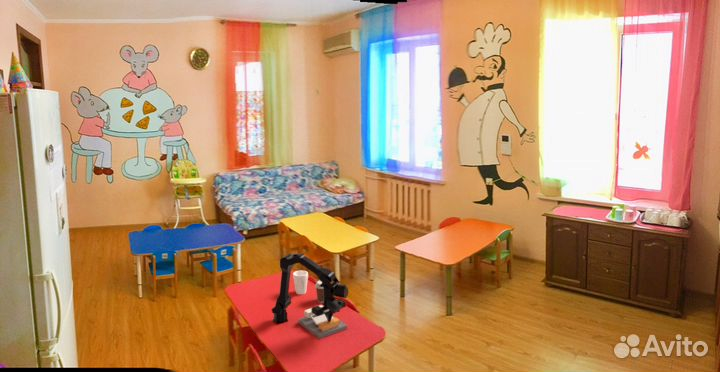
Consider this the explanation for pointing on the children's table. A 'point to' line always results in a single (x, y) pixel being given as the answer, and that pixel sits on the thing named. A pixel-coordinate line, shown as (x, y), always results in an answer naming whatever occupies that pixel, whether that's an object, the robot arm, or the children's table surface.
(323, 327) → the orange key
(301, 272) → the foam cup
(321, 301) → the coffee cup
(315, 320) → the cream plate with stripe
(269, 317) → the children's table surface
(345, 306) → the robot arm
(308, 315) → the cream key
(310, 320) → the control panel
